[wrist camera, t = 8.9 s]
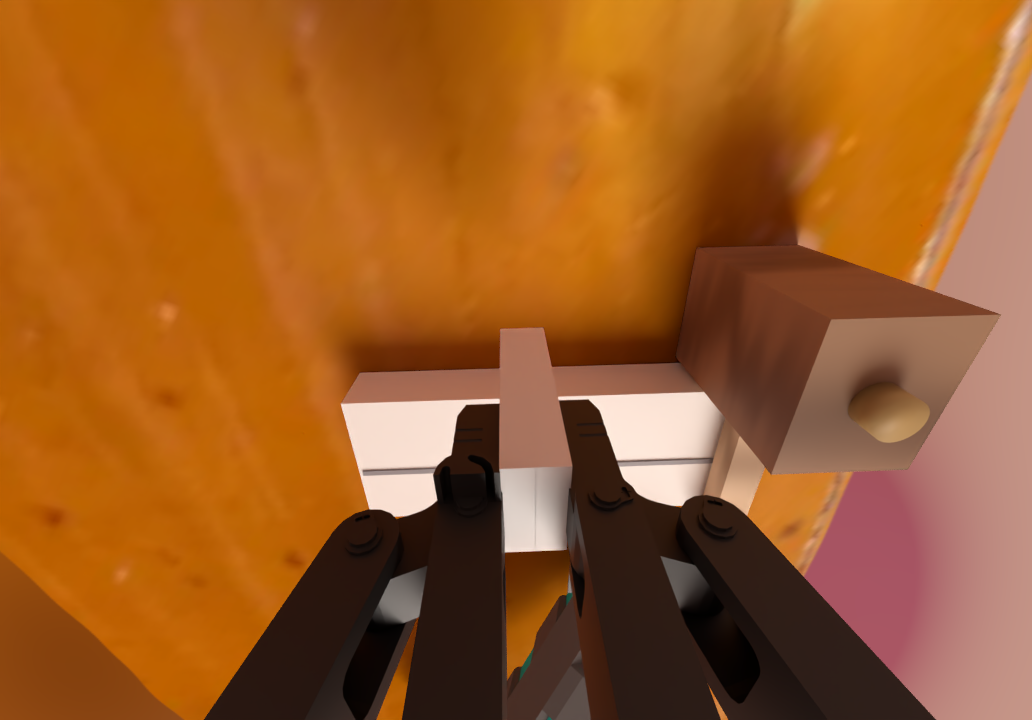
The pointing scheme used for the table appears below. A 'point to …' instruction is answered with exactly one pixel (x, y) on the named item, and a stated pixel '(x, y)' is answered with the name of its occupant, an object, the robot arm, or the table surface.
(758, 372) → the brown wooden clamp
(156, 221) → the table surface
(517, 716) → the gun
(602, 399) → the board
